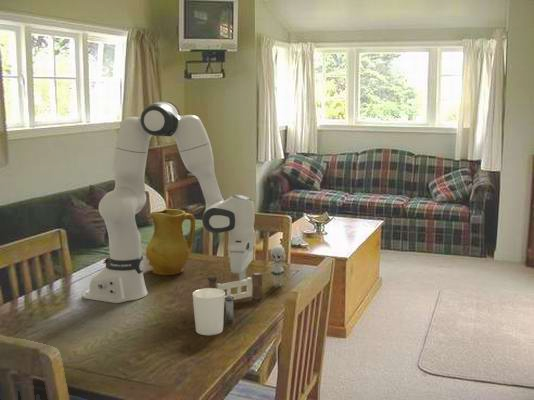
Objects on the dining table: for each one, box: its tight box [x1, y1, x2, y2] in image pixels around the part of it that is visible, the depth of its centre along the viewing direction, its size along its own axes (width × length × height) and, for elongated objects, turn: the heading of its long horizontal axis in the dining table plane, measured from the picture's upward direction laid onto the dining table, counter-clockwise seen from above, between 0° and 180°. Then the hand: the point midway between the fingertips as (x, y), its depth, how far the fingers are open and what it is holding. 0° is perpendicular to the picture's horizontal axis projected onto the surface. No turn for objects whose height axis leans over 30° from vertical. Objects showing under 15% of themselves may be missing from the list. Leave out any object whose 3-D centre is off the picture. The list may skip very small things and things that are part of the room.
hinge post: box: [207, 276, 218, 288], centre depth 219 cm, size 3×3×11 cm
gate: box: [216, 277, 253, 303], centre depth 224 cm, size 14×1×6 cm, turn 124°
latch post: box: [225, 295, 235, 324], centre depth 207 cm, size 3×3×8 cm
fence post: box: [252, 271, 263, 301], centre depth 229 cm, size 2×2×9 cm
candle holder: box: [192, 287, 226, 336], centre depth 199 cm, size 10×10×12 cm
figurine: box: [265, 245, 292, 287], centre depth 245 cm, size 10×6×15 cm, turn 68°
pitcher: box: [145, 208, 196, 276], centre depth 262 cm, size 17×19×25 cm
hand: (242, 278), depth 232 cm, fingers closed
